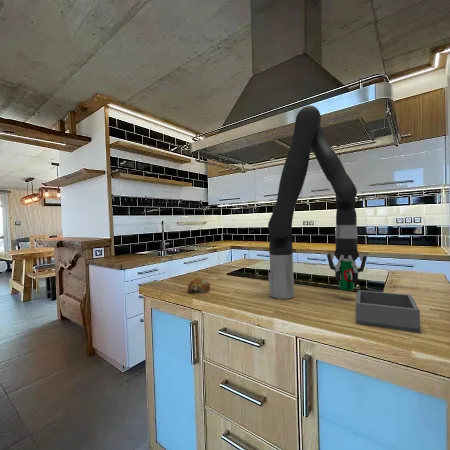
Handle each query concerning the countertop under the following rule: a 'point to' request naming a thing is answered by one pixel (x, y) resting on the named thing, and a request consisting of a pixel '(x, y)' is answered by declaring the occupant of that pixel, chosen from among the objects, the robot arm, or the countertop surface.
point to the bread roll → (199, 285)
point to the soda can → (346, 275)
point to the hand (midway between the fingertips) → (346, 281)
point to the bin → (387, 310)
